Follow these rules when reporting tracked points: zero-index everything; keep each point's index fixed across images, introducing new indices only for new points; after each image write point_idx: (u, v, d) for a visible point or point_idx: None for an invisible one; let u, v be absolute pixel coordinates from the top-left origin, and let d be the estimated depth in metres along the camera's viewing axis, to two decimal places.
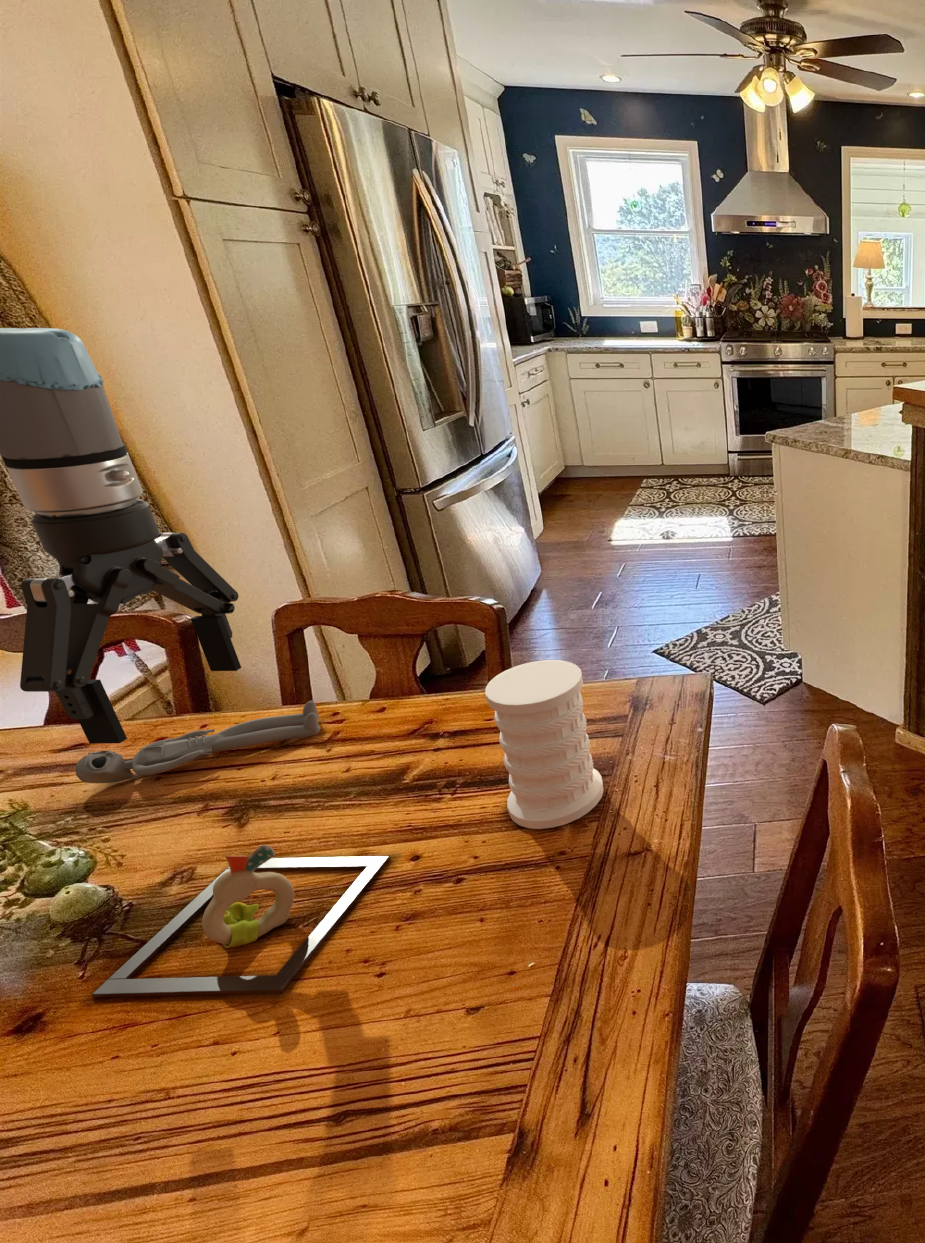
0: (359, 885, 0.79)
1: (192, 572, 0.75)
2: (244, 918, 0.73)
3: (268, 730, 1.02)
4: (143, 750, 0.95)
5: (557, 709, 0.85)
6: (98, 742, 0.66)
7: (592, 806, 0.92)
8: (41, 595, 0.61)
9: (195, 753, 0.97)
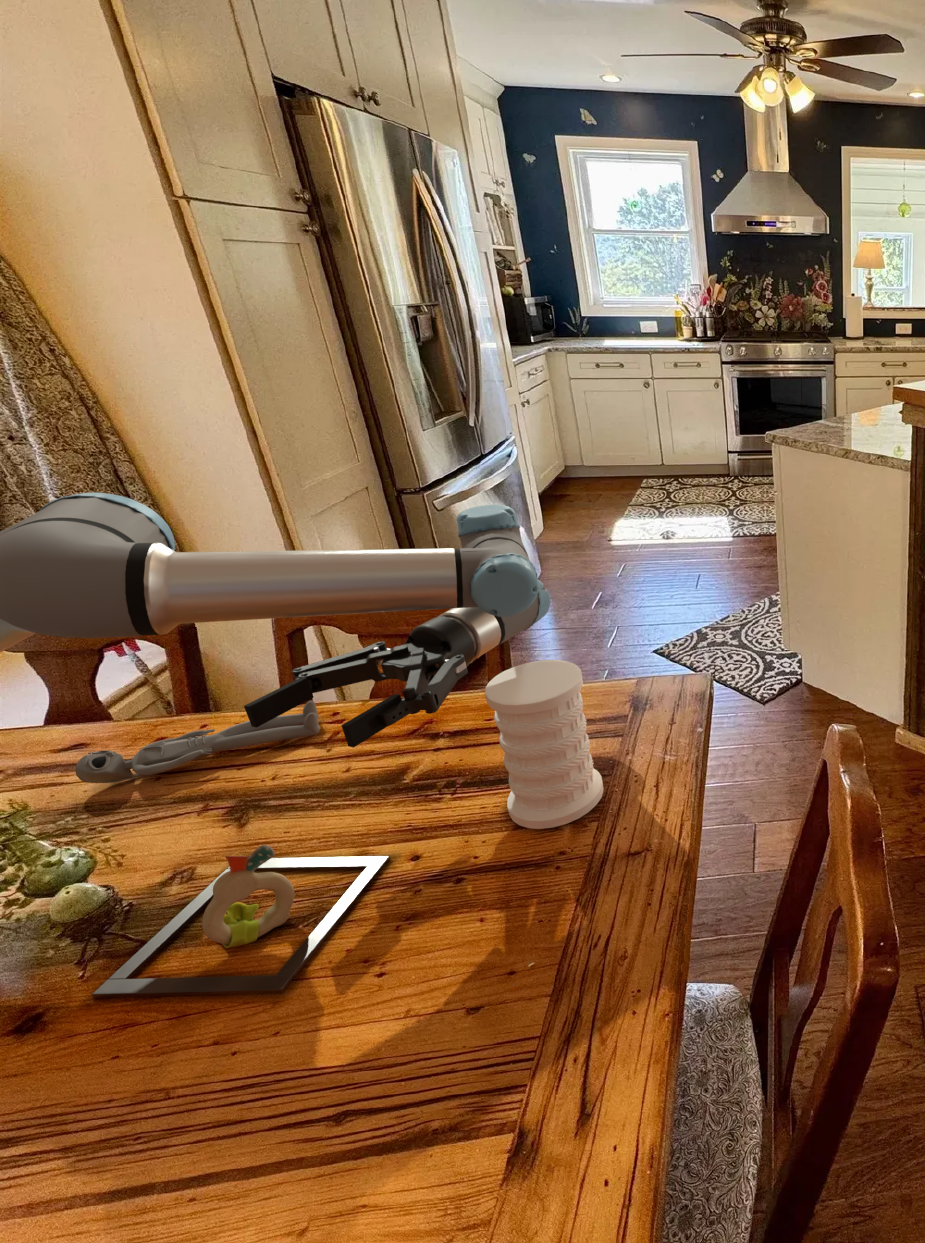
0: (359, 885, 0.79)
1: None
2: (244, 918, 0.73)
3: (268, 730, 1.02)
4: (143, 750, 0.95)
5: (557, 709, 0.85)
6: (350, 732, 0.75)
7: (592, 806, 0.92)
8: (461, 670, 0.89)
9: (195, 753, 0.97)
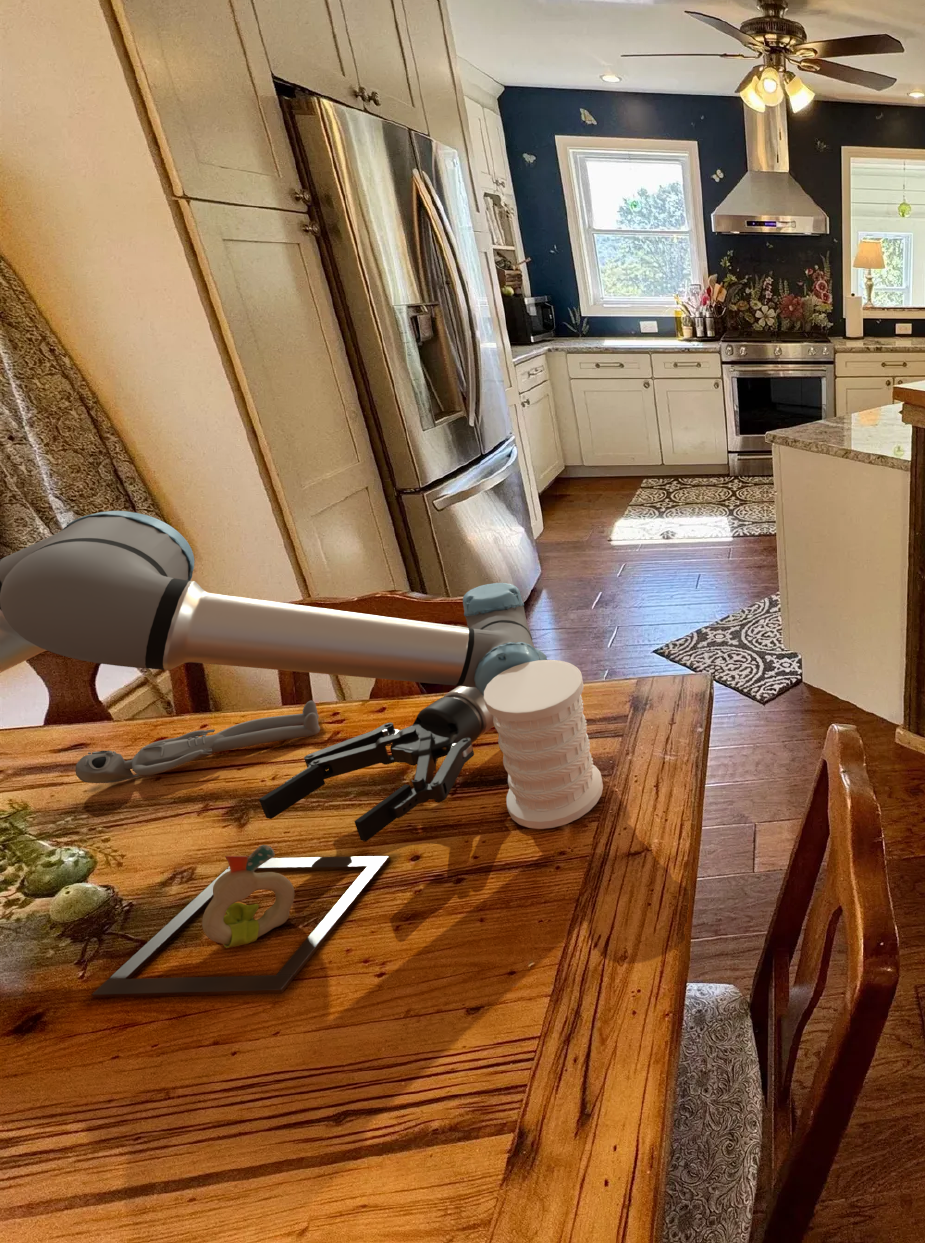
0: (359, 885, 0.79)
1: None
2: (244, 918, 0.73)
3: (268, 730, 1.02)
4: (143, 750, 0.95)
5: (558, 715, 0.84)
6: (362, 827, 0.78)
7: (592, 805, 0.92)
8: (467, 753, 0.92)
9: (195, 753, 0.97)
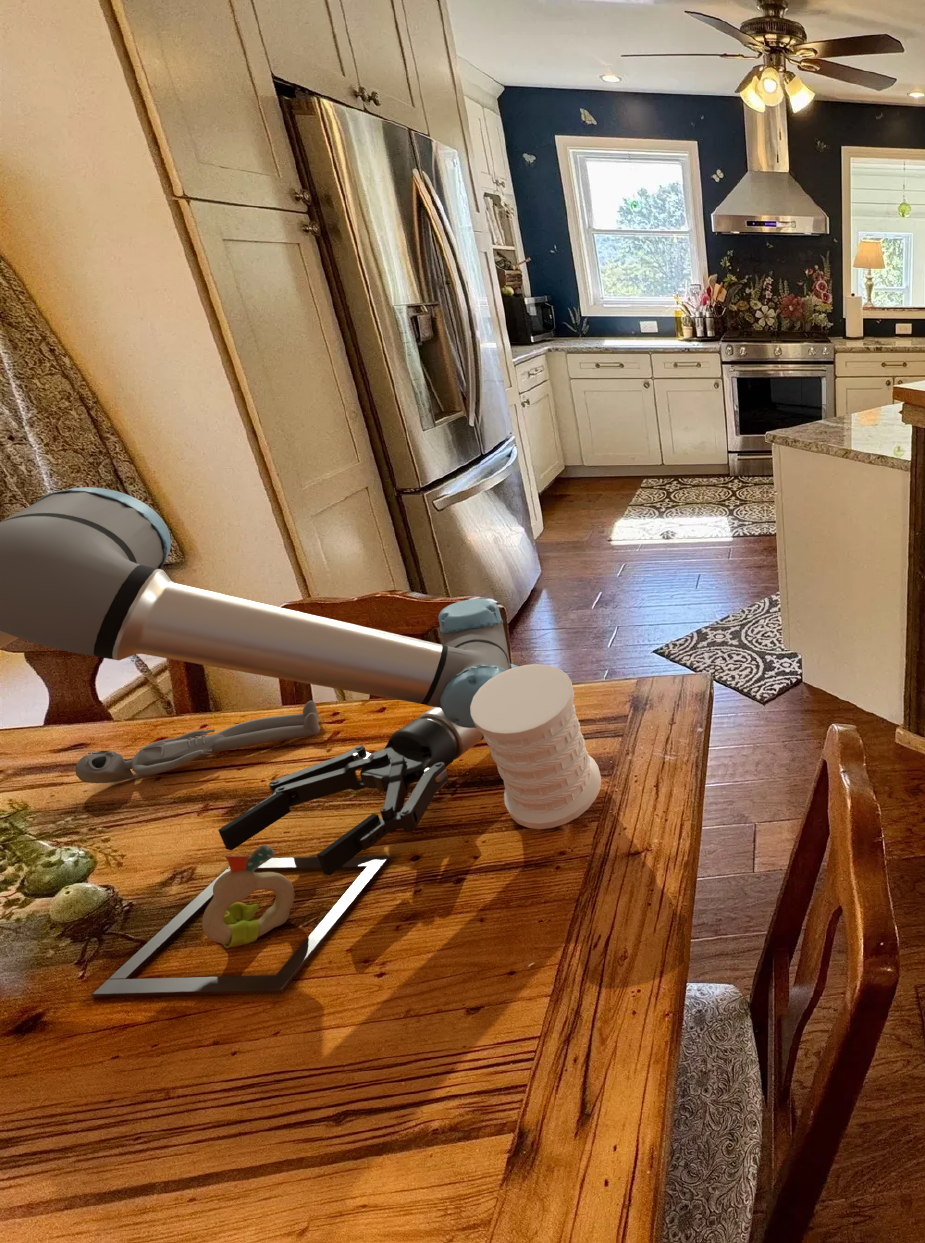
0: (359, 885, 0.79)
1: None
2: (244, 918, 0.73)
3: (268, 730, 1.02)
4: (143, 750, 0.95)
5: (549, 729, 0.82)
6: (326, 861, 0.74)
7: (591, 802, 0.92)
8: (441, 778, 0.88)
9: (195, 753, 0.97)
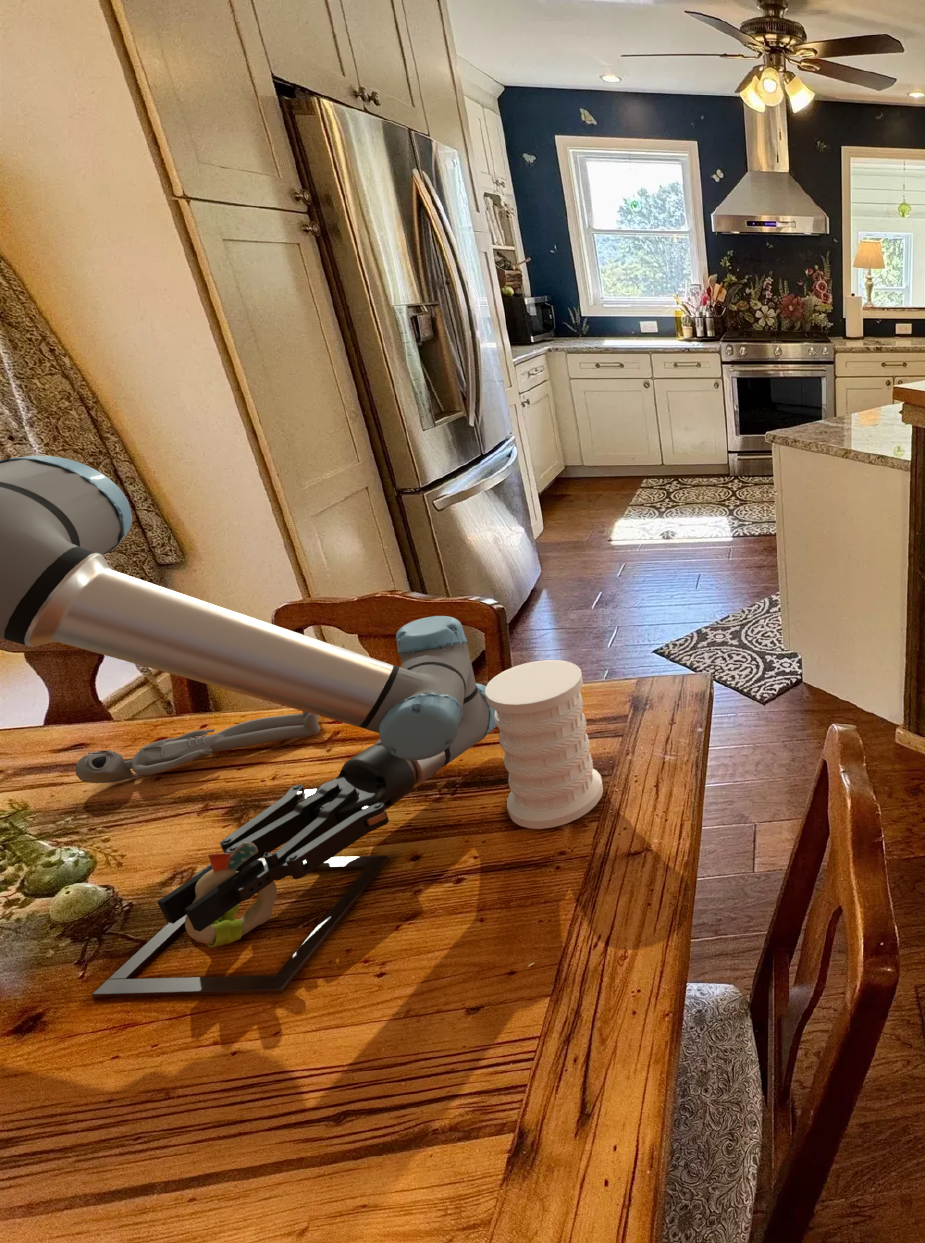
0: (359, 885, 0.79)
1: None
2: (226, 918, 0.73)
3: (268, 730, 1.02)
4: (143, 750, 0.95)
5: (557, 708, 0.86)
6: (195, 916, 0.67)
7: (592, 806, 0.92)
8: (375, 821, 0.80)
9: (195, 753, 0.97)
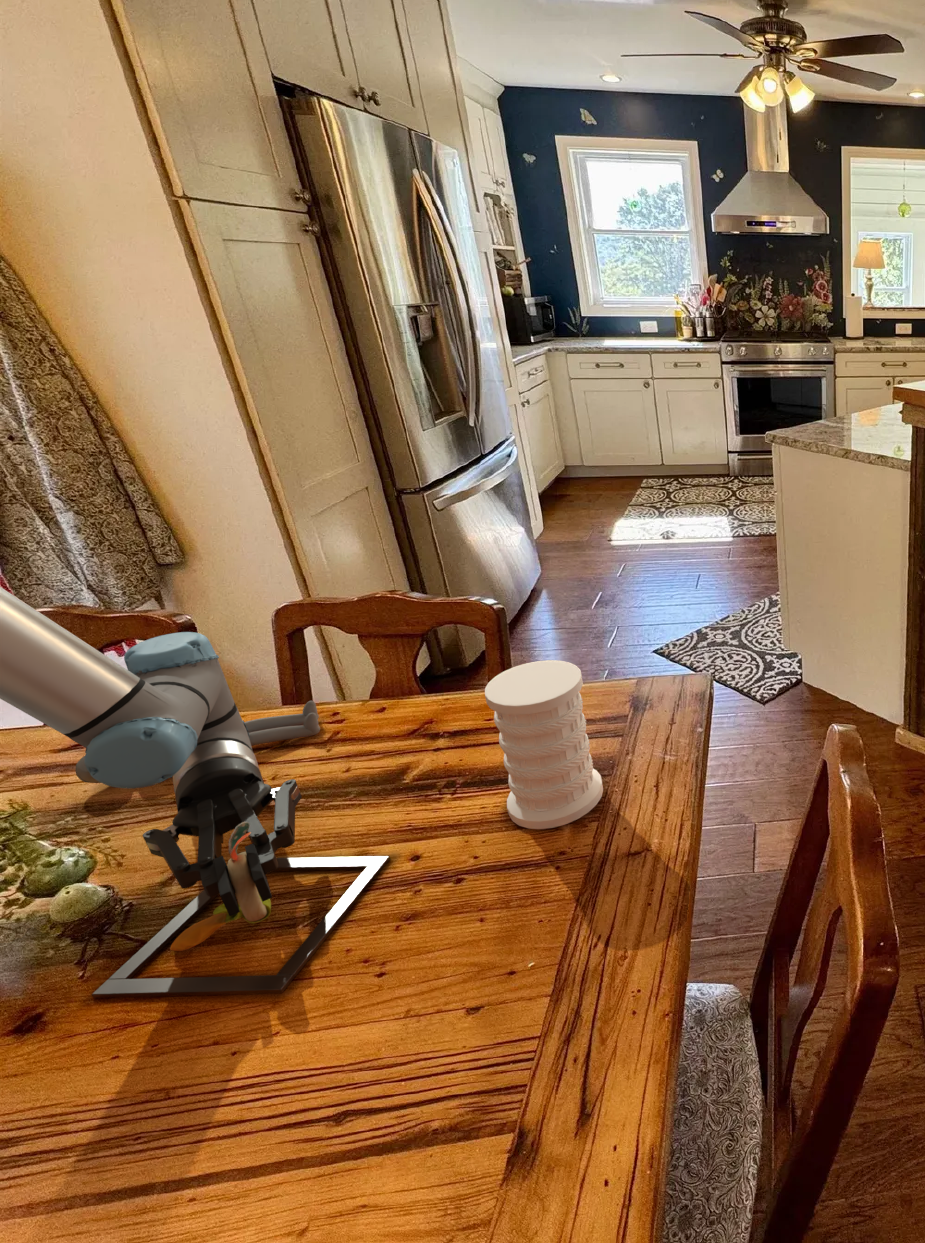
0: (359, 885, 0.79)
1: None
2: None
3: (268, 730, 1.02)
4: None
5: (557, 709, 0.85)
6: (266, 882, 0.70)
7: (592, 806, 0.92)
8: (296, 795, 0.83)
9: None
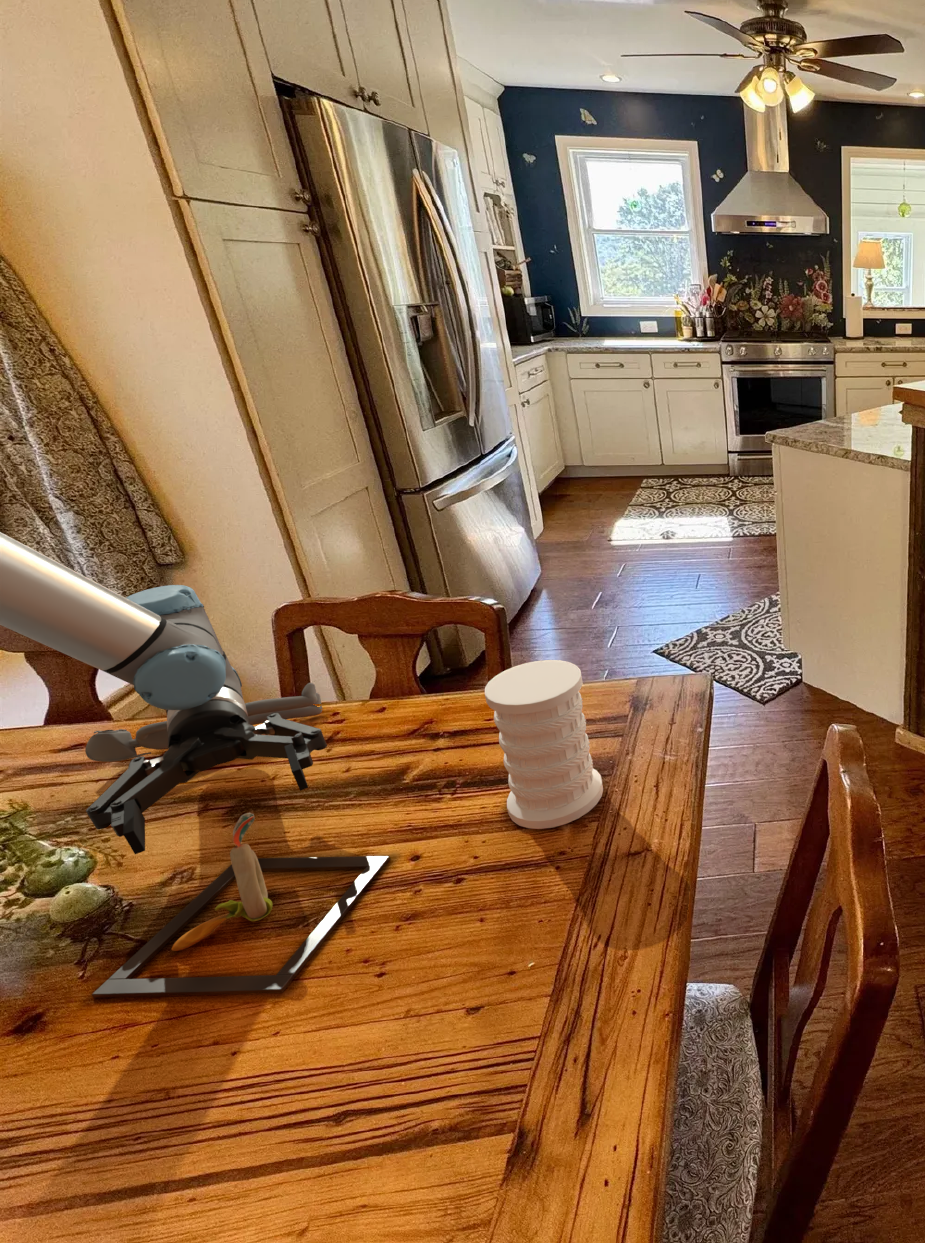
0: (359, 885, 0.79)
1: None
2: None
3: None
4: None
5: (557, 709, 0.85)
6: (302, 774, 0.81)
7: (592, 806, 0.92)
8: None
9: None
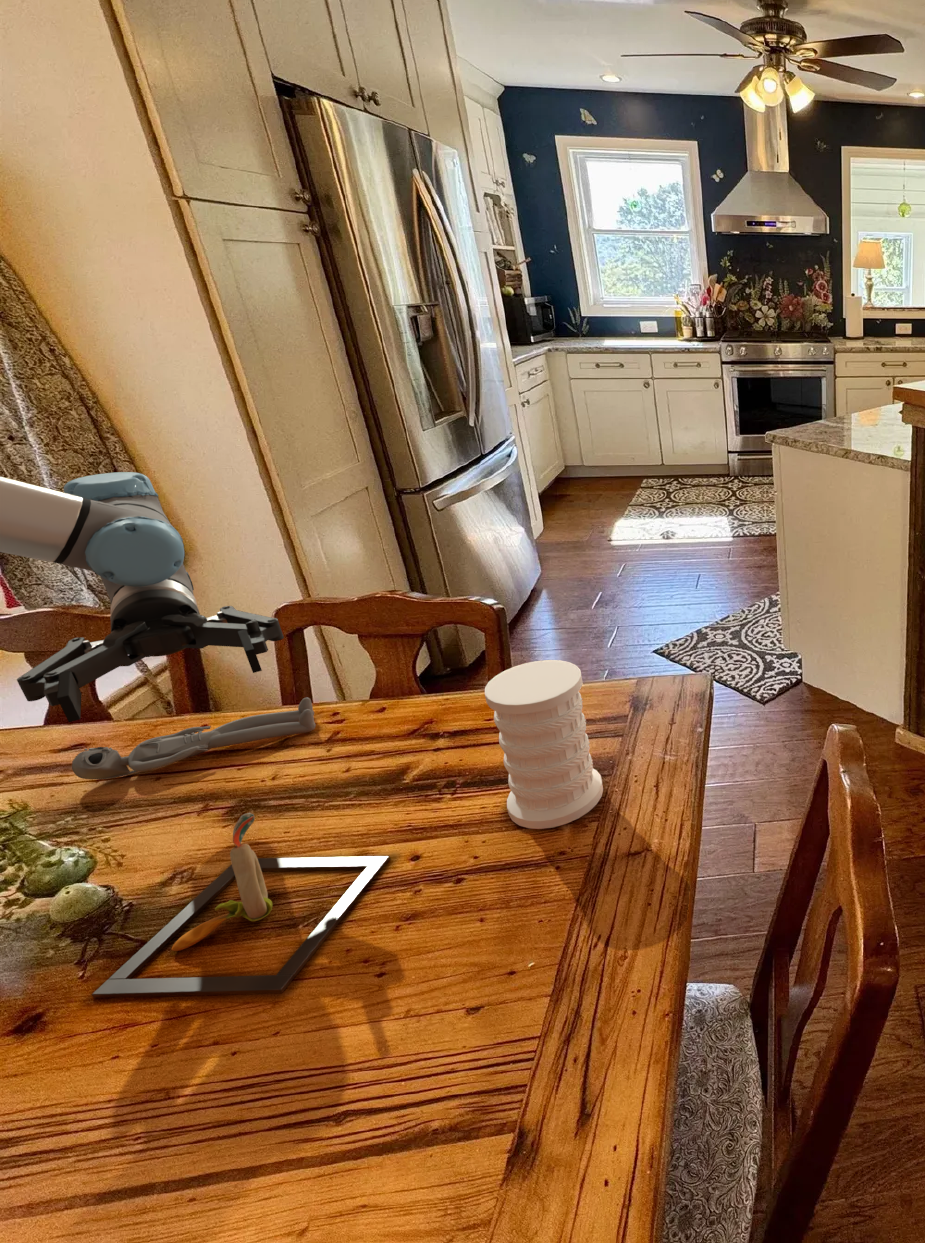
0: (359, 885, 0.79)
1: None
2: None
3: (264, 726, 1.03)
4: (139, 746, 0.96)
5: (557, 709, 0.85)
6: None
7: (592, 806, 0.92)
8: None
9: (191, 749, 0.97)
